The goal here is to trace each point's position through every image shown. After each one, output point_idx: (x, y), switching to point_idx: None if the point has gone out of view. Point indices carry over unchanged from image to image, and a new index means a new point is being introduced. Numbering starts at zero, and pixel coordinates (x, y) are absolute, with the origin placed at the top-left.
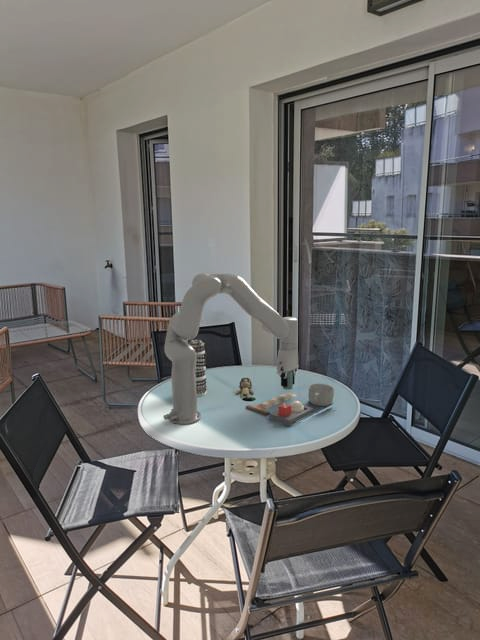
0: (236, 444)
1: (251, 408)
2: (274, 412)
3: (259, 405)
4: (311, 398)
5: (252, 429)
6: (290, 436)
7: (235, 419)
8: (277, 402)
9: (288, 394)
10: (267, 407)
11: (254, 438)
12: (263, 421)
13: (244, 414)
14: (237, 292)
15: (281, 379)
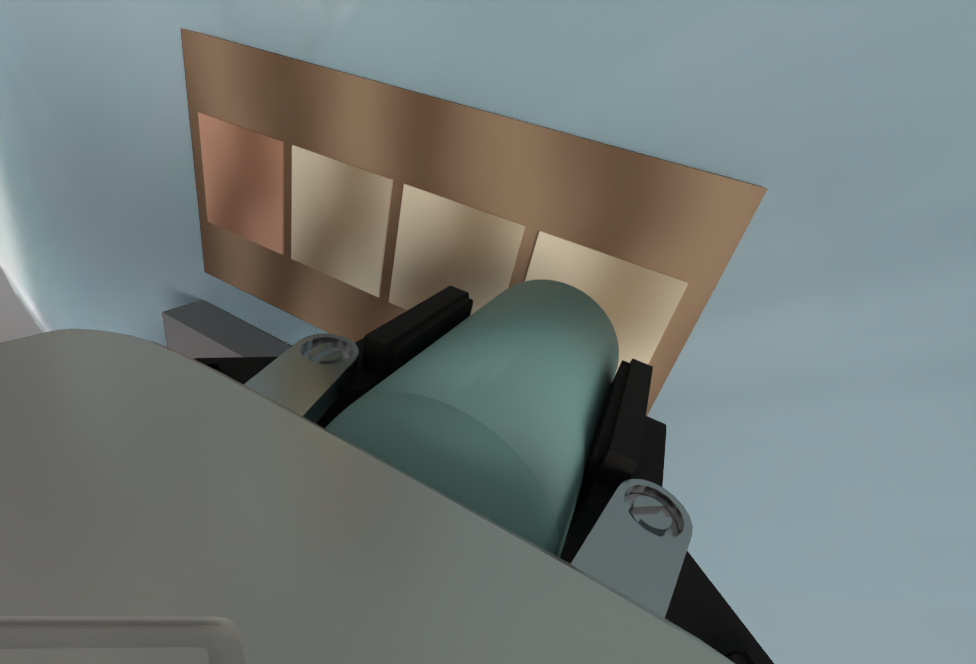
0: (14, 254)
1: (193, 108)
2: (187, 337)
3: (246, 149)
4: None
5: (97, 259)
6: None
7: (80, 94)
8: (370, 274)
9: (608, 314)
10: (258, 234)
11: (74, 302)
12: (170, 276)
13: (144, 104)
14: None
15: (356, 344)
